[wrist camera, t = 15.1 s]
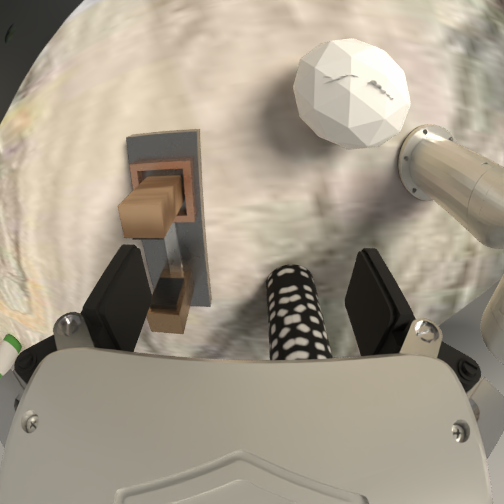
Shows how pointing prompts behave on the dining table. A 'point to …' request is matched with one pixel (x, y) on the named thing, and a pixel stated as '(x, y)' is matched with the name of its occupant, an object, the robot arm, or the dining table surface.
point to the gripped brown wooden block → (151, 207)
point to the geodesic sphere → (351, 93)
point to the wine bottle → (8, 353)
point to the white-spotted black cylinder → (295, 316)
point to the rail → (174, 228)
